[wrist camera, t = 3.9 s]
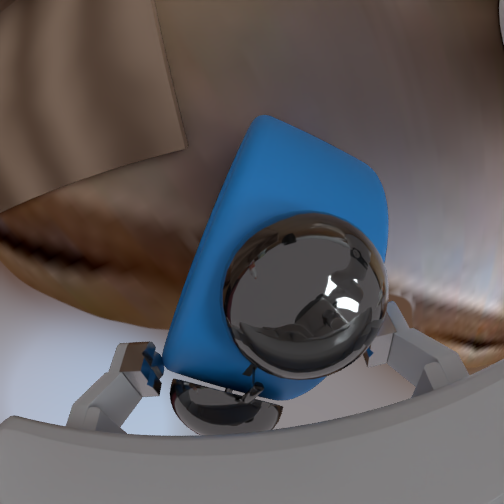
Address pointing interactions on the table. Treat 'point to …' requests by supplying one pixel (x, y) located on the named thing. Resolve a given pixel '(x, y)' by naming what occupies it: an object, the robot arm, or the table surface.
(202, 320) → the alarm clock
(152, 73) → the shelf bay
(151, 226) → the table surface
